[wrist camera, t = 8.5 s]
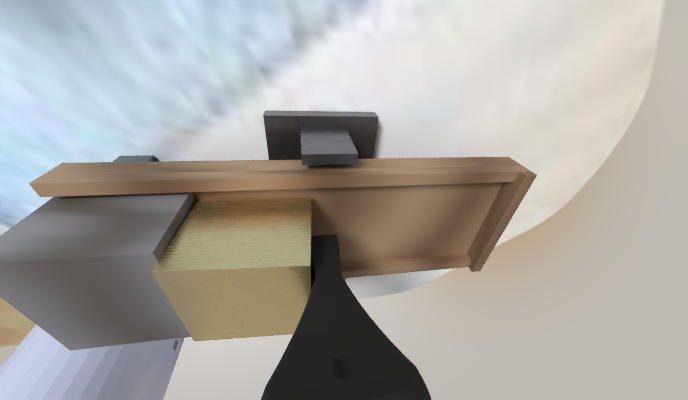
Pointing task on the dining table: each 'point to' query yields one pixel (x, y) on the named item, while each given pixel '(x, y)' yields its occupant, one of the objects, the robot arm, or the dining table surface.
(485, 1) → the dining table surface
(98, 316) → the balance beam
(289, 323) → the block
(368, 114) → the beam stand
